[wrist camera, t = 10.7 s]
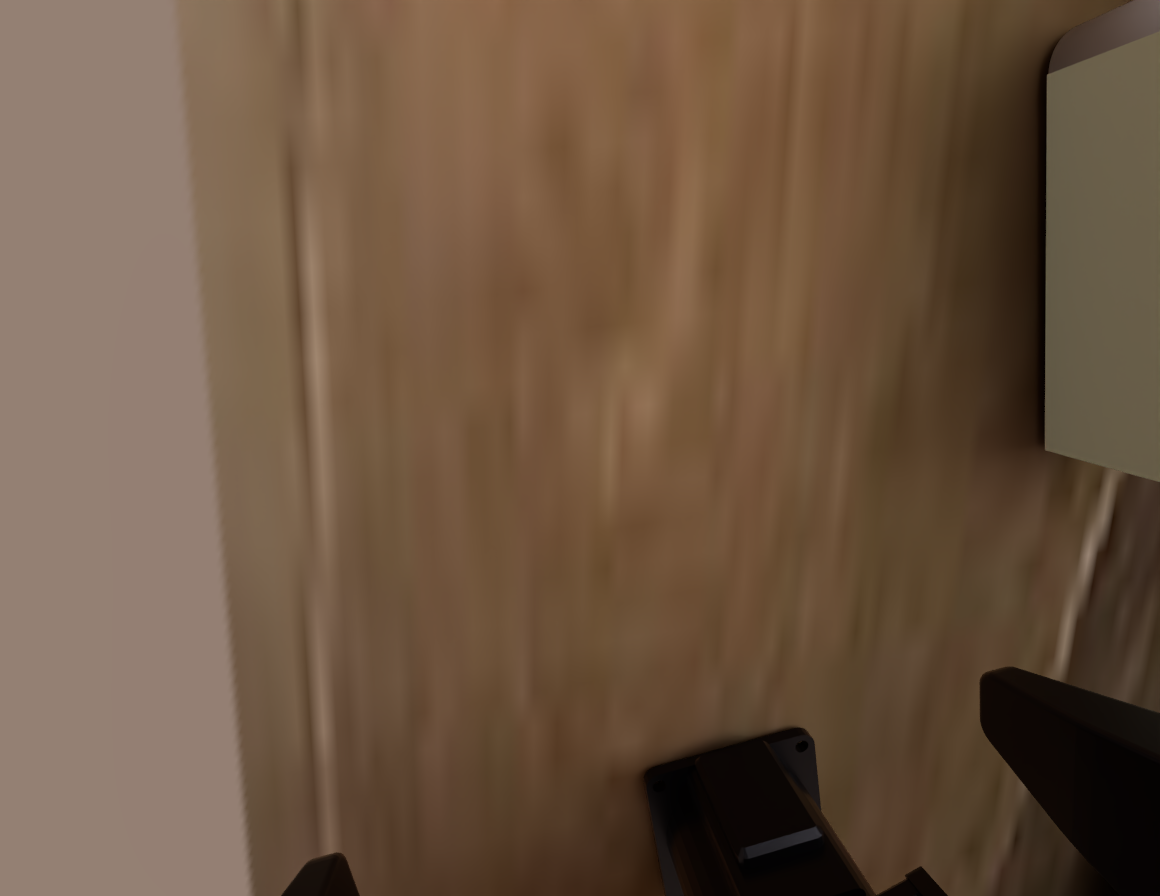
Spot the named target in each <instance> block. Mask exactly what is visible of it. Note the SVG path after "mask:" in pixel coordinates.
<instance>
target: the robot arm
mask: <svg viewBox="0 0 1160 896" xmlns="http://www.w3.org/2000/svg"><path fill="white" fill-rule="evenodd" d="M980 722H981V726H982V729H983V731H984V733H985V735H986V737H987V738H988V740H989V741H990V742H991V744H992V745H993V746H994V747H995V749H996V750H997V751H998V752H999V754H1000V755H1001V756H1002V757H1003V759H1004V760H1005V761H1006V762H1007V764H1008V765H1009V766H1010V767H1011V769H1012V770H1013V771H1014V773H1015V774H1016V775H1017V776H1018V778H1019V779H1020V780H1021V781H1022V783H1023V784H1024V785H1025V786H1026V788H1027V789H1028V790H1029V791H1030V793H1031V794H1032V795H1033V796H1034V798H1035V799H1036V800H1037V801H1038V803H1039V804H1040V805H1041V806H1042V808H1043V809H1044V810H1045V811H1046V813H1047V814H1048V815H1049V816H1050V818H1051V819H1052V820H1053V821H1054V823H1055V824H1056V825H1057V826H1058V828H1059V829H1060V830H1061V831H1062V832H1063V834H1064V835H1065V836H1066V837H1067V838H1068V839H1069V841H1070V842H1071V843H1072V844H1073V845H1074V846H1075V847H1076V849H1077V850H1078V851H1079V852H1080V853H1081V854H1082V855H1083V856H1084V857H1085V859H1086V860H1087V861H1088V862H1089V863H1090V864H1091V865H1092V866H1093V867H1094V868H1095V869H1096V870H1097V872H1098V873H1099V874H1100V875H1101V876H1102V877H1103V878H1104V879H1105V880H1106V881H1107V882H1108V883H1109V884H1110V885H1111V886H1112V888H1113V889H1114V890H1115V891H1116V892H1117V893H1118V894H1119V895H1120V896H1160V713H1158V712H1155V711H1151V710H1148V709H1145V708H1142V707H1139V706H1136V705H1132V704H1129V703H1126V702H1123V701H1120V700H1117V699H1113V698H1110V697H1107V696H1104V695H1101V694H1098V693H1094V692H1091V691H1088V690H1085V689H1082V688H1079V687H1075V686H1072V685H1069V684H1066V683H1063V682H1060V681H1056V680H1053V679H1050V678H1047V677H1044V676H1041V675H1037V674H1034V673H1031V672H1028V671H1025V670H1022V669H1018V668H1015V667H1003V668H1000V669H996V670H992V671H989V672H986V673H984V674H983V675H982V677H981V679H980ZM800 741H801V743H799V744H798V745H796V744H797V743H798V742H800ZM660 780H662V781H661V782H660V783H658V784H654V783H655V782H657V781H660ZM644 787H645V792H646V798H647V803H648V808H649V813H650V819H651V824H652V829H653V835H654V840H655V845H656V850H657V856H658V861H659V866H660V872H661V877H662V882H663V887H664V893H665V896H948V895H947V894H946V893H945V892H944V891H943V890H942V889H941V888H940V887H939V885H938V884H937V883H936V882H935V881H934V880H933V879H932V878H931V877H930V875H929V874H928V873H927V872H926V871H925V870H924V869H923V868H922V867H921V866H920V867H918V868H917V869H915V870H913V871H911V872H909V873H908V874H906V875H905V877H906V879H905V880H903V881H901V882H899V883H898V884H896V885H894V886H892V887H890V888H889V889H887V890H885V891H883V892H881V893H880V894H878V895H876V894H875V893H874V891H873V889H872V888H871V886H870V885H869V883H868V882H867V880H866V879H865V877H864V876H863V874H862V873H861V871H860V870H859V868H858V867H857V865H856V864H855V862H854V861H853V859H852V858H851V856H850V855H849V853H848V852H847V850H846V848H845V847H844V845H843V844H842V842H841V841H840V839H839V838H838V836H837V835H836V833H835V832H834V830H833V829H832V827H831V826H830V824H829V823H828V821H827V820H826V818H825V817H824V815H823V814H822V812H821V806H820V796H819V785H818V775H817V765H816V754H815V744H814V740H813V738H812V737H811V736H810V734H809V733H808V732H807V731H806V730H805V729H803V728H794V729H790V730H787V731H783V732H779V733H776V734H772V735H768V736H765V737H761V738H758V739H754V740H750V741H747V742H743V743H740V744H736V745H732V746H729V747H725V748H722V749H718V750H714V751H711V752H707V753H704V754H700V755H696V756H693V757H689V758H685V759H682V760H678V761H675V762H671V763H667V764H664V765H660V766H657V767H654V768H651V769H649V770H648V771H647V772H646V774H645V776H644ZM281 896H360V895H359V893H358V890H357V887H356V884H355V882H354V879H353V876H352V873H351V871H350V868H349V865H348V862H347V860H346V858H345V856H344V855H343V854H342V853H333V854H329V855H325V856H322V857H318V858H315V859H312V860H310V861H309V862H307V863H306V864H305V865H304V867H303V868H302V869H301V870H300V872H299V873H298V874H297V876H296V877H295V878H294V880H293V881H292V882H291V884H290V885H289V886H288V887H287V889H286V890H285V891H284V893H283V894H282V895H281Z"/></svg>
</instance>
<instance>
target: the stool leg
mask: <svg viewBox="0 0 1160 896" xmlns="http://www.w3.org/2000/svg"><path fill="white" fill-rule="evenodd" d="M1045 450H1046V451H1049V452H1053V453H1057V454H1060V455H1064V456H1068V457H1071V458H1075V459H1078V460H1082V461H1086V462H1089V463H1093V464H1096V465H1100V466H1104V467H1107V468H1111V469H1114V470H1118V471H1122V472H1125V473H1129V474H1133V475H1136V476H1140V477H1143V478H1147V479H1151V480H1154V481H1158V482H1160V0H1133V1H1131V2H1129V3H1127V4H1125V5H1122V6H1120V7H1118V8H1116V9H1113V10H1111V11H1109V12H1107V13H1105V14H1102V15H1100V16H1098V17H1096V18H1093V19H1091V20H1089V21H1087V22H1084V23H1082V24H1080V25H1078V26H1076V27H1074V28H1072V29H1071V30H1069V31H1068V32H1067V33H1066V34H1065V35H1064V36H1063V37H1062V38H1061V39H1060V41H1059V42H1058V44H1057V45H1056V47H1055V49H1054V51H1053V54H1052V56H1051V60H1050V64H1049V73H1048V75H1047V153H1046V329H1045Z"/></svg>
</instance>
